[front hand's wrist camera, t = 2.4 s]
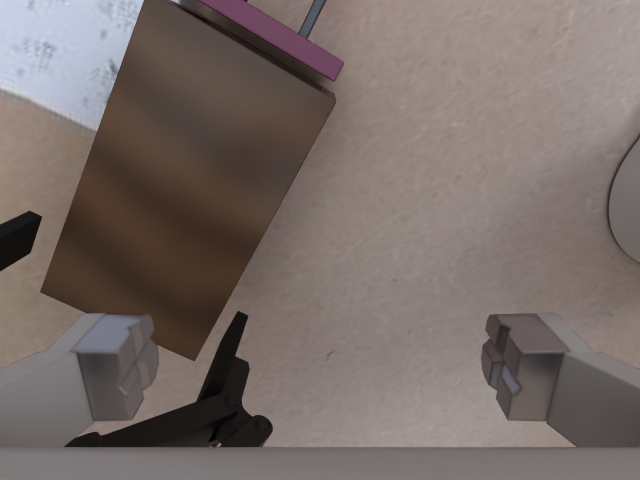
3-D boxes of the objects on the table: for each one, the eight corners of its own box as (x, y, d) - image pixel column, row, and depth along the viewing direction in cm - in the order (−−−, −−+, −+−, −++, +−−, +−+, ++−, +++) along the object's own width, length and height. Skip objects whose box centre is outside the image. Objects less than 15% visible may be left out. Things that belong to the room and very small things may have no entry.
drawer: (249, -105, 27) (225, -162, 21) (384, -17, 29) (401, -43, 22) (119, 217, 35) (71, 250, 29) (230, 272, 37) (209, 315, 30)
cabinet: (197, 12, 31) (147, -12, 22) (334, 93, 33) (337, 101, 24) (105, 242, 37) (39, 292, 29) (223, 299, 39) (194, 362, 31)
